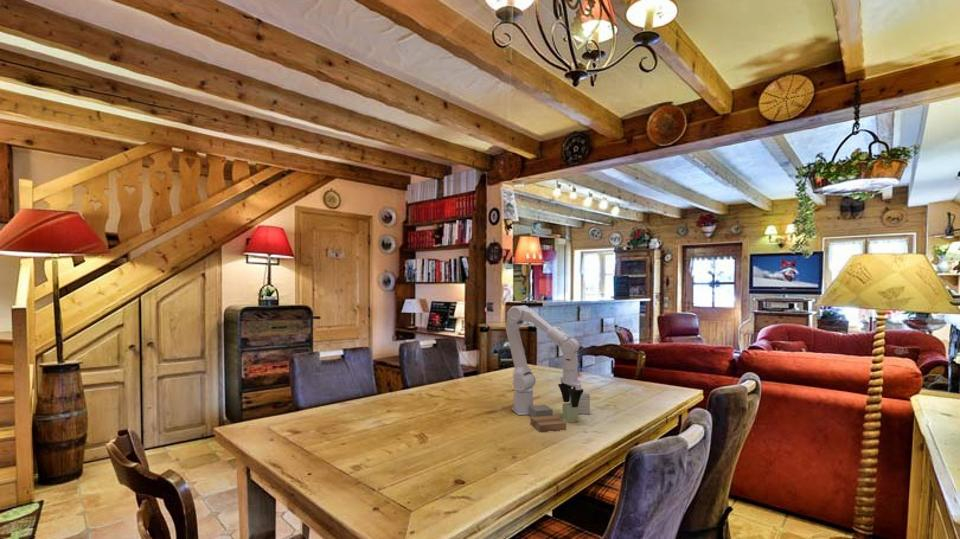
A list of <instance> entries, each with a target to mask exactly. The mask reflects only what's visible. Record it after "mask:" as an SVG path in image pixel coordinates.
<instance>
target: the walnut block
mask: <svg viewBox="0 0 960 539" xmlns="http://www.w3.org/2000/svg"><path fill="white" fill-rule="evenodd" d="M530 425H531V426H532V425H533V426H534V427H533V426H532V427H533V428H535V430H537V431H538V432H539V431H540V432H541V433H549V432H548V431H554V432H561V431H560V430H566V431H567V423H566V421H565V420H564V421H563V419H561V418H559V417H558V416H557V415H553V416H540V417H531V416H530ZM540 432H539V433H540Z"/></svg>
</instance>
